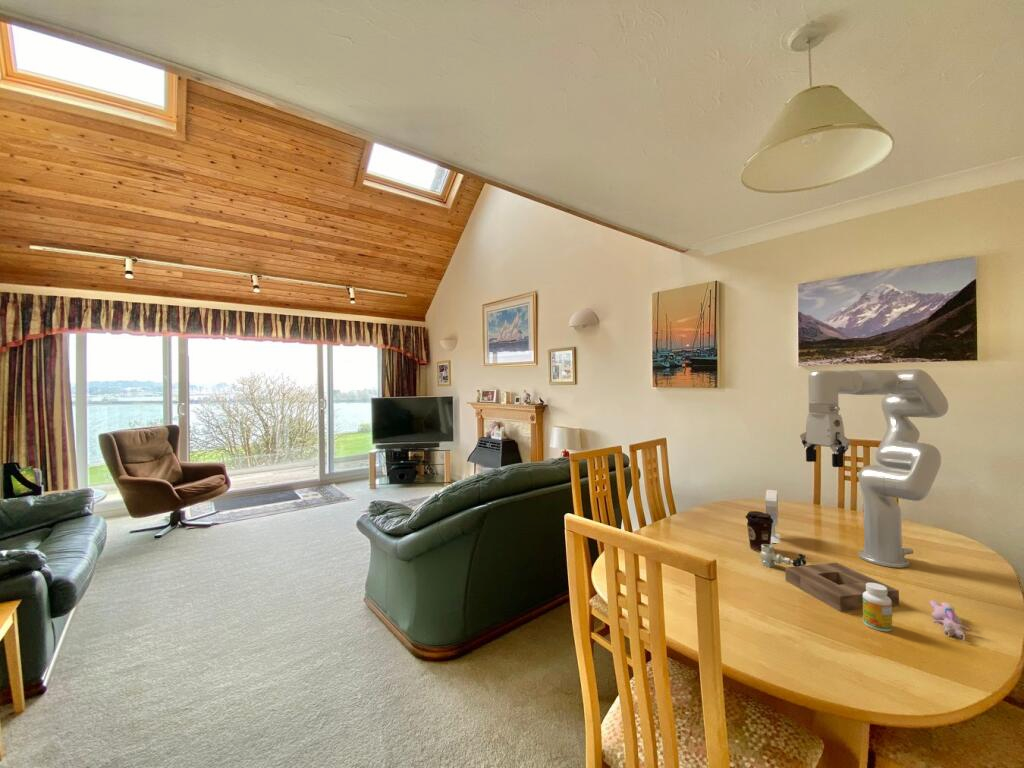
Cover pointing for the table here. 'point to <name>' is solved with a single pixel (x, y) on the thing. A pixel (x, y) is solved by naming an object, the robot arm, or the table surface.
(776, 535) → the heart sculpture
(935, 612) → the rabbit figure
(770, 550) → the valve
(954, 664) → the table surface
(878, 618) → the supplement bottle
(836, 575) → the socket block
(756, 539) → the coffee cup
